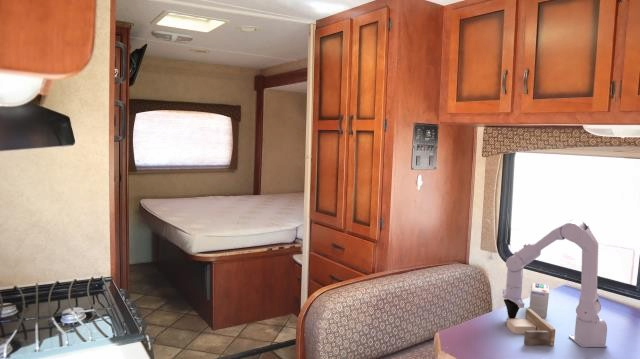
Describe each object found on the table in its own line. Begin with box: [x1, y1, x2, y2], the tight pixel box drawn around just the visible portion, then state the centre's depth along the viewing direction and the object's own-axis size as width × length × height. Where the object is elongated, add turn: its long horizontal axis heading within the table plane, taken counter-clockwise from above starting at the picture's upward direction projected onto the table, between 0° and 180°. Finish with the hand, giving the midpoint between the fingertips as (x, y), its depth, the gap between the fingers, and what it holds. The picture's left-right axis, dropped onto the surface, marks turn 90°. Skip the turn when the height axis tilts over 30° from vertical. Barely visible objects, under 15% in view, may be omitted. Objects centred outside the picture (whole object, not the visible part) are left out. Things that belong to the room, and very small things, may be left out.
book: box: [505, 317, 536, 335], centre depth 174 cm, size 8×7×3 cm
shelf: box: [523, 308, 556, 347], centre depth 170 cm, size 10×18×6 cm, turn 2°
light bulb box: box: [528, 282, 550, 319], centre depth 190 cm, size 11×7×11 cm, turn 154°
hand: (511, 318), depth 182 cm, fingers closed
